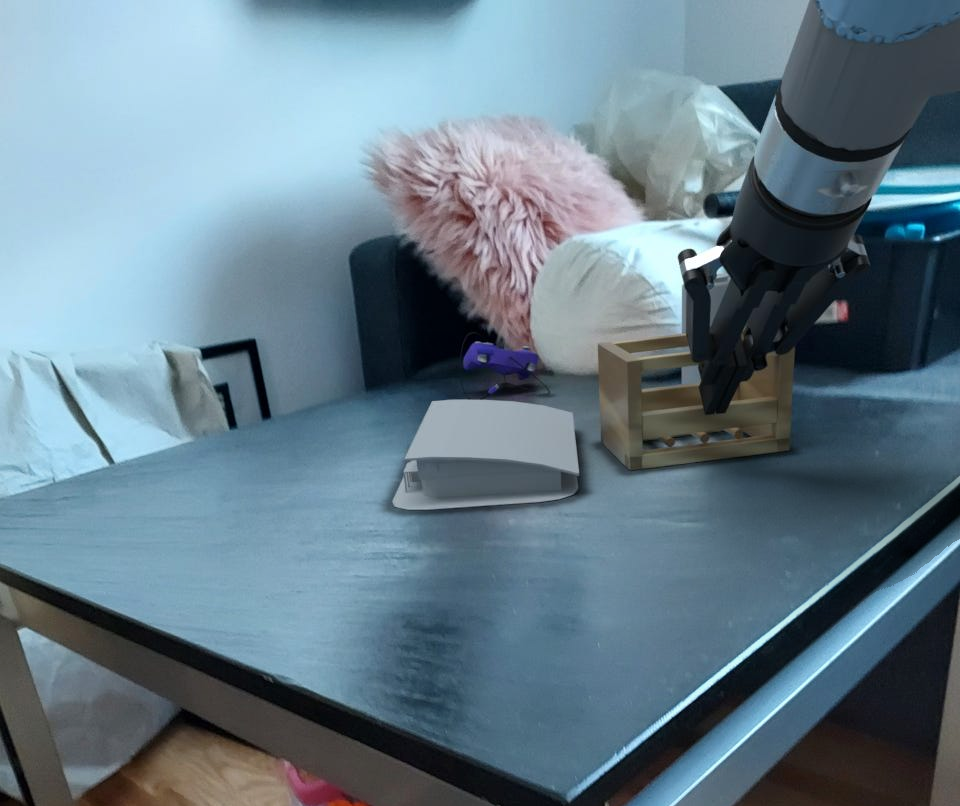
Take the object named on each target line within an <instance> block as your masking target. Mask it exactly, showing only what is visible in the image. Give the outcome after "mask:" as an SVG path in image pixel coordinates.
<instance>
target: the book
mask: <svg viewBox="0 0 960 806" xmlns="http://www.w3.org/2000/svg"><path fill="white" fill-rule="evenodd" d="M577 449H578V448H577V442H576V432H575V421H574V413H573V412H570V411H568V410H563V409H559V408H556V407H551V406H547V405H544V404H537V403H529V402H520V401H515V400H498V399H497V400H494V399H482V400H479V399H472V400H470V399H444V400H431V402H430V405H429V407H428V409H427V411H426V412H425V415H424V417H423V418H422V421H421V423H420V425H419V427H418V429H417V431H416V433H415V436H414V437H413V440H412V442H411V444H410V446H409V448H408V450H407V453H406V454H405V457H404V459H403V460H404V462H407V463H406V465H405V466H404V469H403V472H402V474H403V476H402V479H401V481H400V483H399V486H398V488H397V490H396V492H395V494H394V497H393V499H392V500H391V502H392V504H393V506H394V508H397V509H401V510H405V511H434V510H447V509H461V508H462V509H463V508H476V507H490V506H491V507H492V506H506V505H520V504H521V505H522V504H535V503H544V502H545V503H546V502H552V501H558V500H559V501H560V500H562V499H566V498H568V497H571V496H574V495H575V494H576V493H577V492H578V490H579V484H578V477H579V476H580V468H579V458H578V451H577Z"/></svg>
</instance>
